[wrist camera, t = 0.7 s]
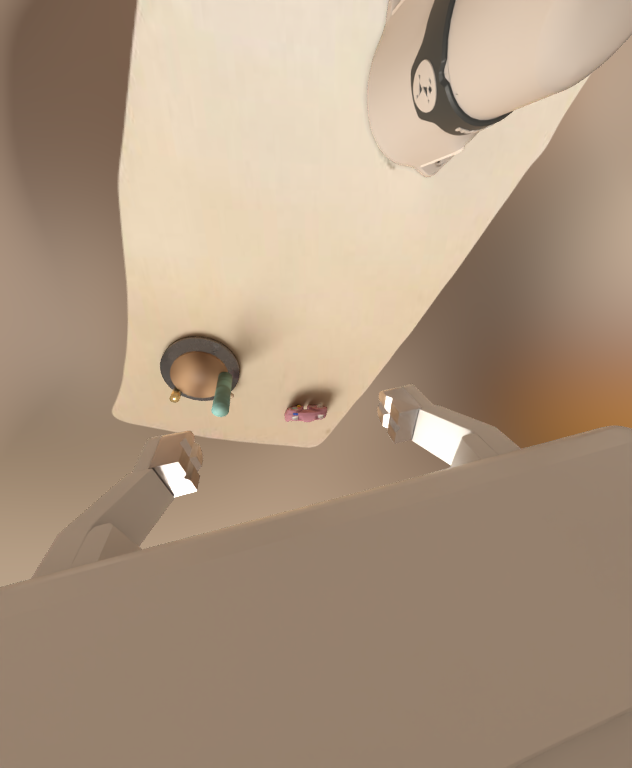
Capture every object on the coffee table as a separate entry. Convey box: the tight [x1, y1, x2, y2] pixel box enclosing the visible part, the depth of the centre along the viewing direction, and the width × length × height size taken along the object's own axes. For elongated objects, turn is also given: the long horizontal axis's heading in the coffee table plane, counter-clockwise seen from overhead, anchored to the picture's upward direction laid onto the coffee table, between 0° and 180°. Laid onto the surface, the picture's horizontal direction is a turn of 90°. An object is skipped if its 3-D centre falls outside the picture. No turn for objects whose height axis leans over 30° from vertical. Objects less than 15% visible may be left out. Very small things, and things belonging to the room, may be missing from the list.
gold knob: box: [170, 387, 182, 402], centre depth 47 cm, size 2×2×3 cm
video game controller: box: [285, 404, 327, 422], centre depth 57 cm, size 10×5×7 cm, turn 83°
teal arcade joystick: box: [170, 351, 234, 417], centre depth 42 cm, size 11×11×11 cm
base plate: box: [160, 337, 239, 401], centre depth 47 cm, size 14×14×2 cm
